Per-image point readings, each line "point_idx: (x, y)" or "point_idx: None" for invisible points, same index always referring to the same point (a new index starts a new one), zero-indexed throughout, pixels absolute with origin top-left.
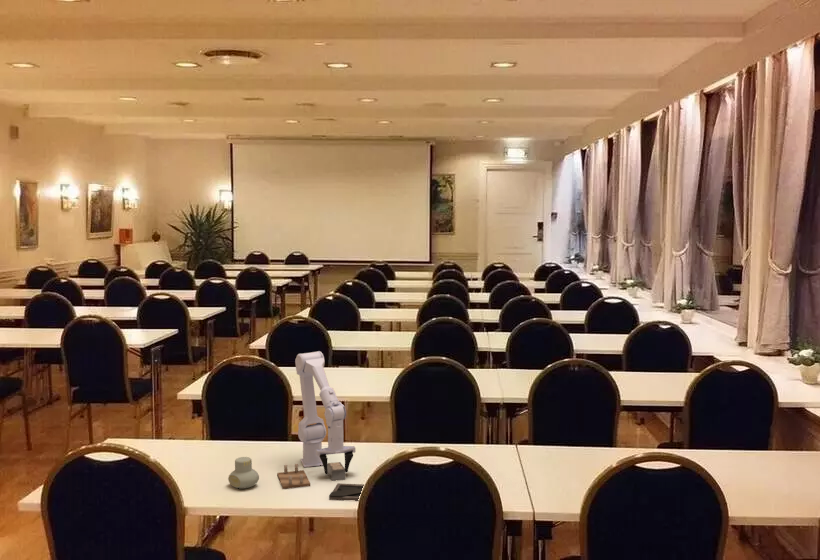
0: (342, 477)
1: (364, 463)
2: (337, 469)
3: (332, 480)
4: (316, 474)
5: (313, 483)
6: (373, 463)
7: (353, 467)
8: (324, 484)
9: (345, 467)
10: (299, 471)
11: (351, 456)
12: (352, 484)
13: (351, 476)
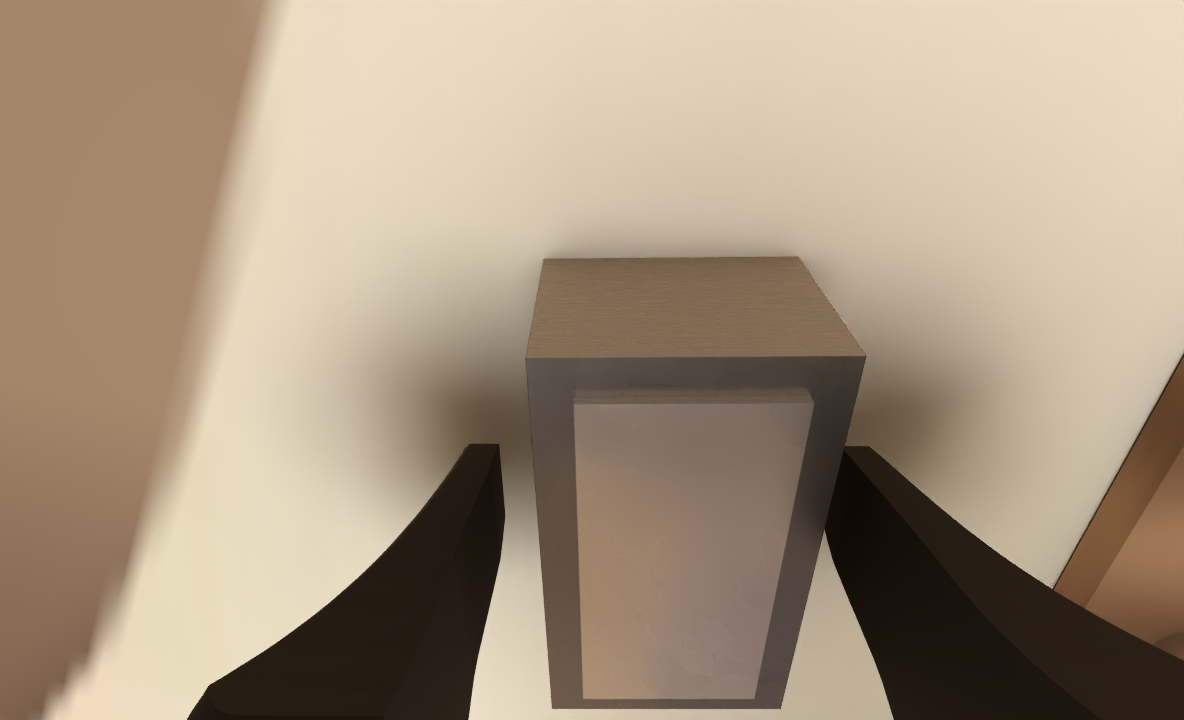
0: (601, 275)
1: None
2: (714, 400)
3: (794, 261)
4: None
5: (1168, 235)
6: (104, 686)
7: None
8: (1018, 111)
9: (489, 535)
10: None
11: (240, 700)
12: None
13: (418, 366)
